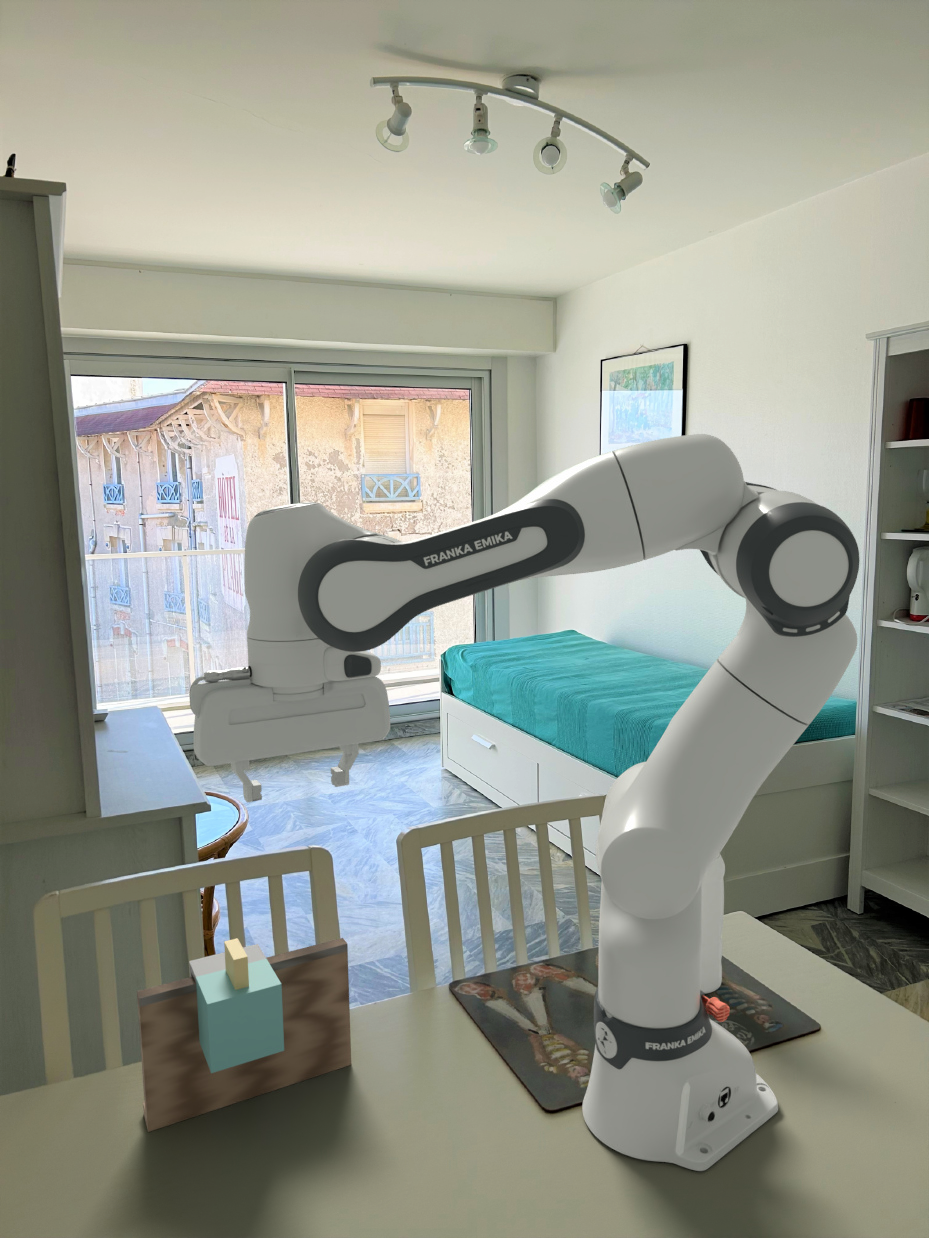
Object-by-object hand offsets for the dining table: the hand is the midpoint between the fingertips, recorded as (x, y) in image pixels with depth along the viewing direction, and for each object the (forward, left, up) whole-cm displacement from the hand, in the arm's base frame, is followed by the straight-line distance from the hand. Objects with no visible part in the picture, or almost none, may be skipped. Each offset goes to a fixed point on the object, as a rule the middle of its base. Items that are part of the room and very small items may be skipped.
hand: (297, 792), depth 92 cm
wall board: (+4, -9, -39) cm, 40 cm away
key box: (+6, -8, -30) cm, 32 cm away
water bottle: (-58, -2, -39) cm, 70 cm away
